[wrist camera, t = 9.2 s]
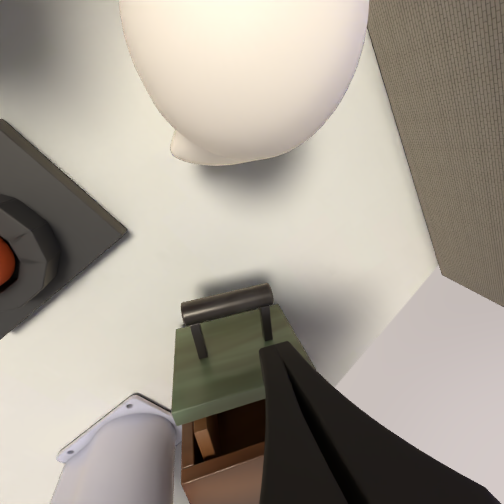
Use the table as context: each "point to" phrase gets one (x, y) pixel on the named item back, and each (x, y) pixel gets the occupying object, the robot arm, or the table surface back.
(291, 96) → the figurine
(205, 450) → the drawer
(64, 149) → the table surface
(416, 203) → the table surface
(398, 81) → the house
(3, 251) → the button
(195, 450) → the cabinet
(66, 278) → the button box
